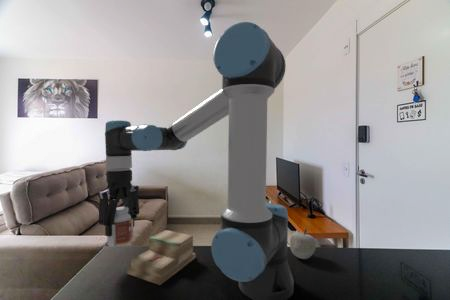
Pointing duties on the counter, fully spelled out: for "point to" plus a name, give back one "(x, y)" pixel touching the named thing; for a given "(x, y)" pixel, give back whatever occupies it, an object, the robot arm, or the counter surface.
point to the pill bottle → (122, 226)
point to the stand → (163, 257)
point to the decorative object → (302, 244)
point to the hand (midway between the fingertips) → (121, 241)
